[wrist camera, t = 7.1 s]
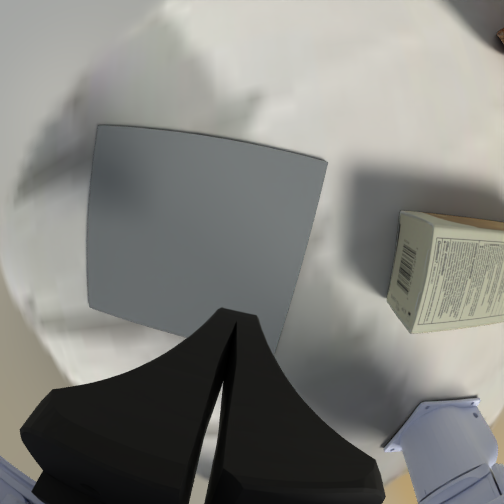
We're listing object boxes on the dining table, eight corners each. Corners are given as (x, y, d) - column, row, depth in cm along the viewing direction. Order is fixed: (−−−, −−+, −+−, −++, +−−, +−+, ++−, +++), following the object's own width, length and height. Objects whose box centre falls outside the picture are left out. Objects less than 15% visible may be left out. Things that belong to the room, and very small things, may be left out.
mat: (327, 162, 15) (327, 161, 15) (273, 354, 19) (273, 356, 19) (100, 125, 15) (98, 125, 15) (91, 305, 19) (89, 307, 19)
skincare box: (382, 301, 17) (501, 298, 17) (407, 337, 13) (530, 321, 13) (399, 203, 16) (518, 223, 15) (435, 217, 11) (554, 237, 11)
